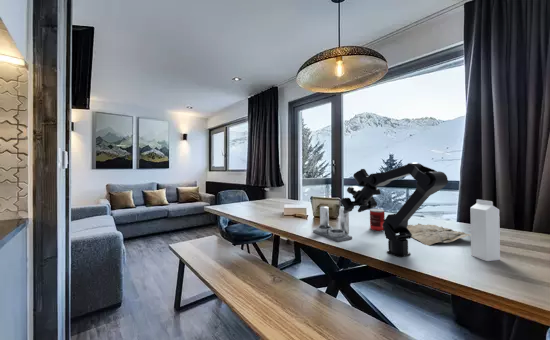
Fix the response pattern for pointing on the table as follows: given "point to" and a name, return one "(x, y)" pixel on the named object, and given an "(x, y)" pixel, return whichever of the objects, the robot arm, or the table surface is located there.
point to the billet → (344, 221)
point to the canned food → (377, 219)
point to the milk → (485, 231)
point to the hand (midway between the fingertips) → (351, 212)
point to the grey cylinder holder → (329, 227)
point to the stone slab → (434, 234)
